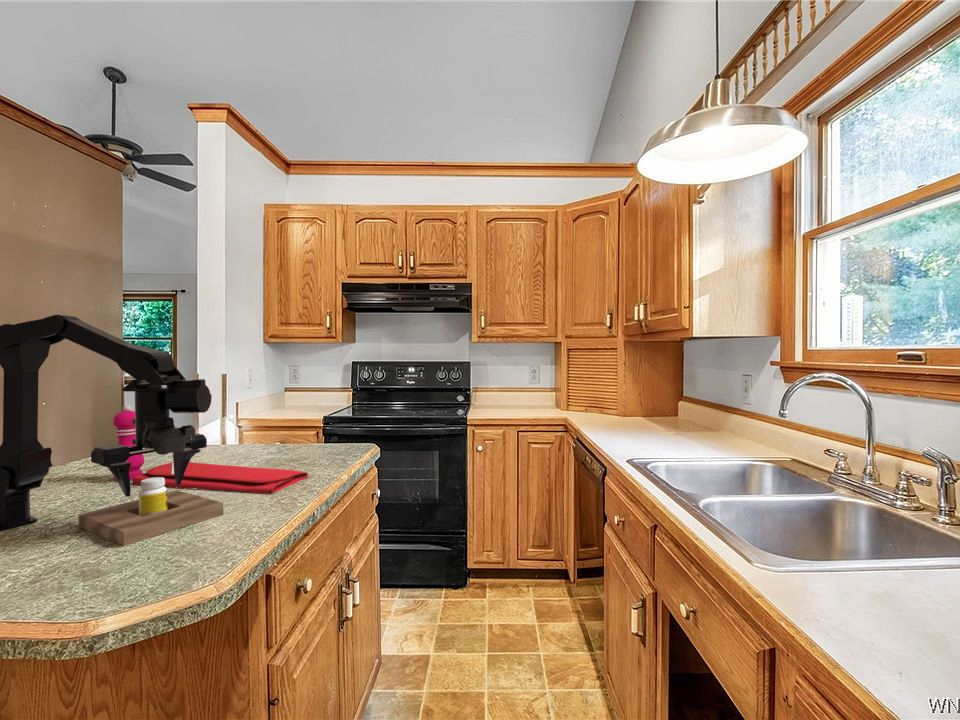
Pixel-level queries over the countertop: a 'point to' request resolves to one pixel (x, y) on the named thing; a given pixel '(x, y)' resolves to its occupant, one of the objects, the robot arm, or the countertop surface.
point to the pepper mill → (128, 438)
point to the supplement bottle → (152, 496)
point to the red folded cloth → (225, 477)
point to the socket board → (149, 518)
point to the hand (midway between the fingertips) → (153, 489)
